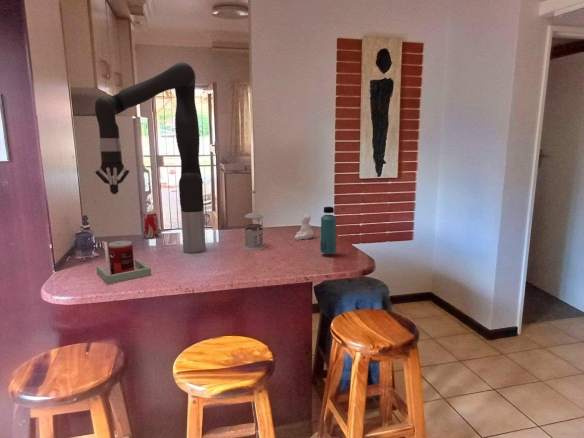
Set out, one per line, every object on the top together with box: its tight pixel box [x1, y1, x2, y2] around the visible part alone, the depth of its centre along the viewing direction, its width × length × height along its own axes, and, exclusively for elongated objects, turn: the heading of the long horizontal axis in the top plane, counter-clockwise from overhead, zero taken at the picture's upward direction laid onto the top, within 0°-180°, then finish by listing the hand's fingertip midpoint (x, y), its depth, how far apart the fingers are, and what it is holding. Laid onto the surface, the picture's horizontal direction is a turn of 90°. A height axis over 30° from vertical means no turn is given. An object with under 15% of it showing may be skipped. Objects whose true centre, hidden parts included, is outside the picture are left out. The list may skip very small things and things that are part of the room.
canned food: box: [107, 240, 135, 275], centre depth 146 cm, size 8×8×11 cm
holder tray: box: [96, 240, 152, 285], centre depth 144 cm, size 14×14×14 cm
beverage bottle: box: [320, 206, 337, 255], centre depth 166 cm, size 6×7×20 cm
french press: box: [242, 190, 266, 251], centre depth 179 cm, size 10×12×25 cm
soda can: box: [141, 211, 160, 240], centre depth 196 cm, size 7×7×12 cm
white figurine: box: [294, 213, 314, 241], centre depth 195 cm, size 10×9×12 cm
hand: (114, 193), depth 166 cm, fingers closed
